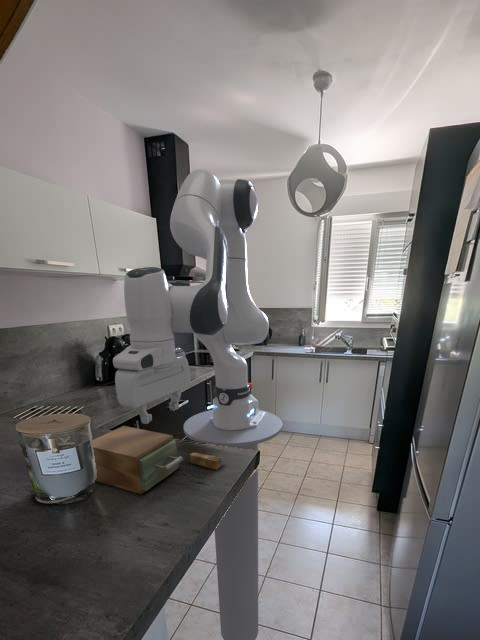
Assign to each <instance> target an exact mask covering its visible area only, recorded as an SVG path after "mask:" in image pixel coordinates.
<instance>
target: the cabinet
mask: <svg viewBox="0 0 480 640" xmlns="http://www.w3.org/2000/svg"><path fill="white" fill-rule="evenodd" d="M171 440H174V435H172V434H167V433H163V432H162V433H161V432H158V431H151V430H147V429H141V428H137V427H131V426H127V425H122V426H120V427H118V428H116V429H113V430H112V431H109V432H107V433H104V434H103V435H101V436H98V437H95V438H94V439H92V440H91V441H93V449H94V456H95V463H96V469H97V478H96V481H95V482H98V483H102V484H104V485H108V486H111V487H115V488H117V489H118V488H119V489H122V490H126V491H127V492H128V491H129V492H132V493H135V494H139V495H143V494H144V493H145V492H146V491H145V490H143V489H142V482H141V476H140V469H139V463H138V459H139V458H141V457H143V456H144V455H146V454H148V453H150V452H151V451H153V450H155V449H156V448H158V447H160V446H161V445H163V444H165V443H168V442H169V441H171Z"/></svg>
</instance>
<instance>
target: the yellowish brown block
mask: <svg viewBox="0 0 480 640" xmlns="http://www.w3.org/2000/svg"><path fill="white" fill-rule="evenodd" d="M189 458H190V464H191V465H192V464H193V465H197V466H202V467H205V468H206V469H211V470H216V471H217V470H219V469H220V468H221V467H222V457H220V456H216V455H211V454H210V455H208V454H204V453H199V452H192V453H190V454H189Z"/></svg>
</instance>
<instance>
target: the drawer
mask: <svg viewBox="0 0 480 640" xmlns="http://www.w3.org/2000/svg"><path fill="white" fill-rule="evenodd" d="M183 461H184V458H183V457H182V456H181V455H179V456H178V449H177V441H176V440H174V439H173V440H171V441H169V442H168V443H165V444H163V445H161V446H160V447H158V448H156V449H155V450H153V451H151V452H150V453H148V454H146V455H144V456H143V457H141V458H139V459H138V463H139V469H140V476H141V482H142V489H143V490H145V492H146V491H149V490H150V489H151V488H152V487H154V486H156V485H157V484H159V483H160V482H161V481H162V480H164V479H165V478H167V477H168V476H169V475H171V474H172V473H174V472H175V471H177V470H178V469H179V464H181V463H183Z"/></svg>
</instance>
